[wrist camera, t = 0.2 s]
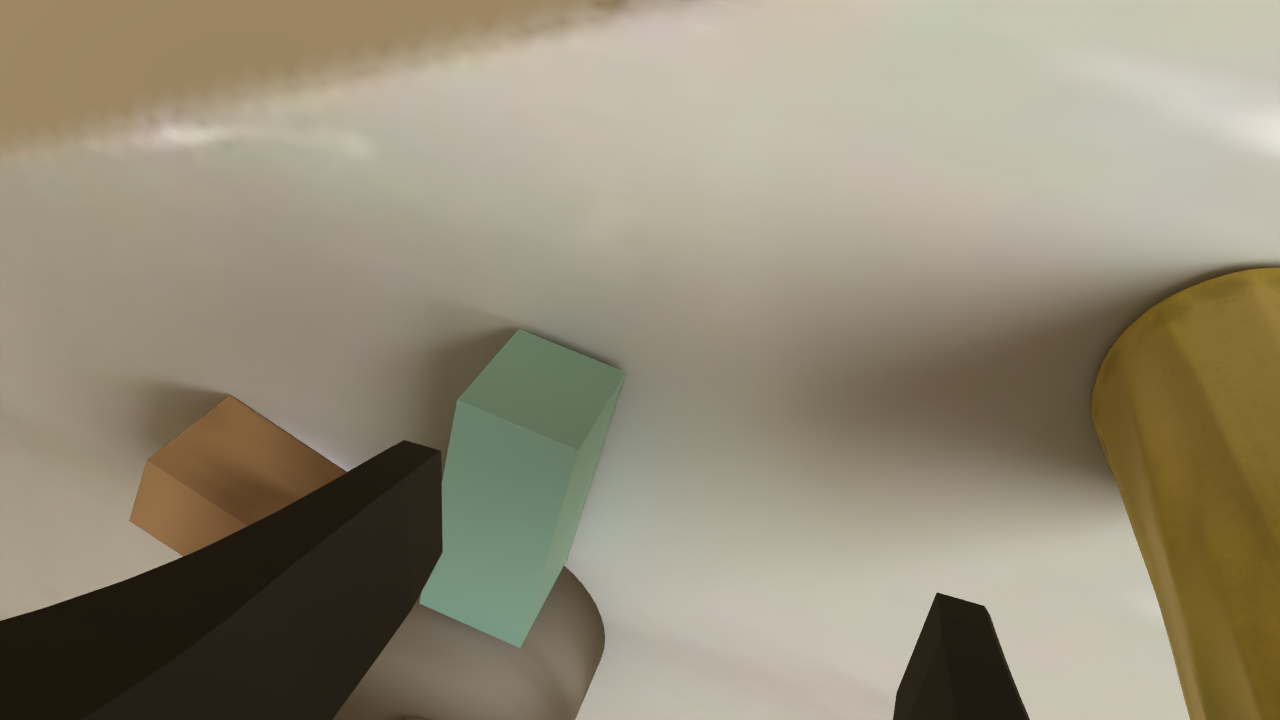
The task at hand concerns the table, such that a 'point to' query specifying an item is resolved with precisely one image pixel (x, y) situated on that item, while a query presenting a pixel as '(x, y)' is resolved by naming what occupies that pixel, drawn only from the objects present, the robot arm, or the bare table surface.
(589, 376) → the folding leg
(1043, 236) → the table surface
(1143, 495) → the vase
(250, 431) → the stool base
